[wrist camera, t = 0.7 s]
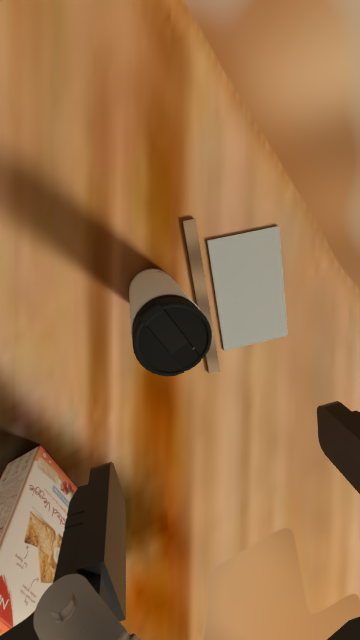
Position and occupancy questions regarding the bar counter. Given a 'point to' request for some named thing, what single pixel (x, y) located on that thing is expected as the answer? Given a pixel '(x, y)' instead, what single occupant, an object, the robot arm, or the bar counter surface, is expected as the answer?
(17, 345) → the bar counter surface
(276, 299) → the mat
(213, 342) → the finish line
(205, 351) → the travel mug
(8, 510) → the cracker box
